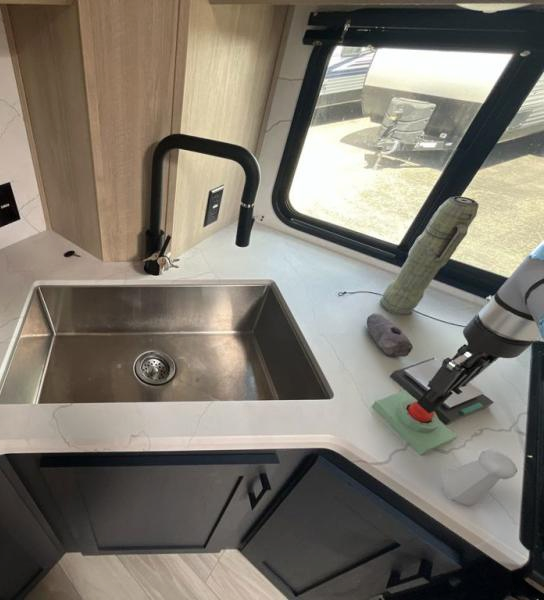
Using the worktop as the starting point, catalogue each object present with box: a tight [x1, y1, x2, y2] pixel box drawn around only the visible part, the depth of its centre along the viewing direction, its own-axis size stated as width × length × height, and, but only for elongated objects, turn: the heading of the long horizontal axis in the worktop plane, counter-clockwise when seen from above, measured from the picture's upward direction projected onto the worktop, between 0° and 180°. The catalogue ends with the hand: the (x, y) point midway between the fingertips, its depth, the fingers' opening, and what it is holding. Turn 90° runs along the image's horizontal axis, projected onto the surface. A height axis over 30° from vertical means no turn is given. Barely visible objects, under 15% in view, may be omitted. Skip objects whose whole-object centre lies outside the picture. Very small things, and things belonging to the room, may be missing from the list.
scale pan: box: [403, 358, 485, 409], centre depth 76 cm, size 11×11×1 cm
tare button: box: [408, 402, 434, 423], centre depth 69 cm, size 4×4×2 cm
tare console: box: [371, 389, 458, 456], centre depth 70 cm, size 12×9×4 cm
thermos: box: [379, 195, 480, 316], centre depth 91 cm, size 9×12×35 cm
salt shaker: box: [441, 449, 518, 506], centre depth 57 cm, size 6×6×13 cm
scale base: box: [389, 357, 495, 426], centre depth 77 cm, size 14×14×3 cm
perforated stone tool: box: [366, 312, 414, 358], centre depth 88 cm, size 15×5×7 cm, turn 179°
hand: (425, 406), depth 68 cm, fingers closed
